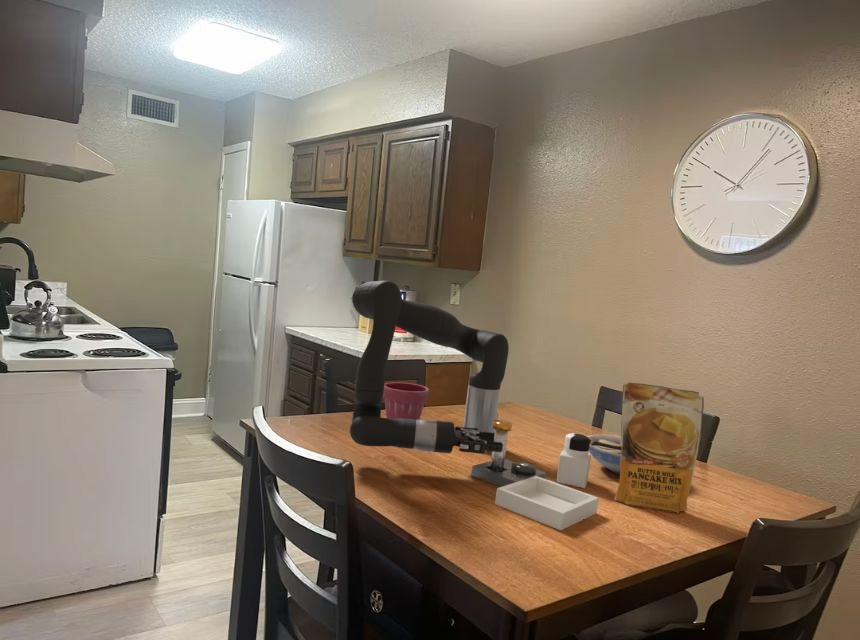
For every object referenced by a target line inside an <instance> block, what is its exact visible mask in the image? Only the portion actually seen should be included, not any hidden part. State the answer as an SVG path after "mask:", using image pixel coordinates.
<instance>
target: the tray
mask: <svg viewBox="0 0 860 640" xmlns="http://www.w3.org/2000/svg"><path fill="white" fill-rule="evenodd" d="M599 499H600V497H598V496H596V495H593V494H591V493H586V492H584V491H581V490H578V489H575V488H573V487H569V486H567V485H565V484H562V483H557V482H556V481H552V480H549V479H546V478H545V479H544V478H541V477H538V476H534V477H531V478H528V479H524V480H521V481H518V482H515V483H512V484H509V485H506V486H503V487H497V488H496V493H495V499H494V500H495V502H494V505H495V506H499V507H501V508H504V509H506V510H509V511H511V512H514V513H515V514H518V515H521V516H523V517H526V518H528V519H531V520H533V521H535V522H537V523H541V524H543V525H545V526H548V527H550V528H553V529H556V530H558V531H563V530H564V529H566V528H568V527H572V526H573V525H575V524H577V523H579V522H582V521H583V519H584V520H585V519H588V518H590V517H592V516H594V515H596V514H597V513H598V508H599V507H598V506H599Z"/></svg>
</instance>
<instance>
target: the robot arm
mask: <svg viewBox="0 0 860 640" xmlns="http://www.w3.org/2000/svg"><path fill="white" fill-rule="evenodd" d="M351 298H352V299H351V300H352V301H351V302H352V305H353V307H354V309H355V311H356V312H357V313H358V314H359V315H360V316H362V317H363V318H365V319H369V320H372V329H371V333H370V334H371V335H370V337H369V340H368V343H367V345H366V347H365V349H364V351H363V354H362V355H361V357H360V359H359V362H358V366H357V369H356V375H355V376H356V377H355V384H354V386H355V387H354V406H353V413H352V420H351V423H350V427H349V434H350V435H349V436H350V437H351V439H352V440H353V442H354V443H355V444H358V445H360V446H365V447H394V448H398V449H399V448H400V449H401V448H402V449H411V450H416V451H422V452H429V453H440V454H451V453H452V452H453V449H454V447H457V448H459V449H458V451H459V452H461V453H462V452H463V453H472V454H480V455H484V454H486V453H487V452H492V451H493V452H502V449H503V444H502V443H501V442H494V435H495V429H494V428H493V421H494V420H499V413H498V408H499V401H500V393H501V385H502V383H503V380H504V378H505V373H506V369H507V364H508V363H507V362H508V358H509V357H508V356H509V350H510V349H509V348H510V347H509V342H508V341H509V340H508V338H507V337H506V336H505V335H504V334H501V333H498V332H494V331H488V330H483V329H478V328H477V329H476V328H474V327H471V326H467V325H465V324H463V323H462V322H460V320H459V319H458V318H457V317H456V316H455V315H453V314H452V313H450V312H448V311H446V310H444V309H442V308H439V307H437V306H436V305H431V304H428V303H423V302H420V301H419V302H417V301H412V300H408V299H407V300H406V299H404V298H402V292H401V290H400V288H399V285H397V284H396V283H395V282H394V281H391V280H373V281H367V282H364V283H362V284H360V285H358V286H357V287H356V288H355V289H354V291H353V292H352V296H351ZM396 327H397V328H399V329H400V330H402V331H404V332H407V333H409V334H412V335H414V336H416V337H418V338H420V339H423V340H425V341H427V342H430V343H432V344H435V345H438V346H441V347H445V348H449V349H450V348H451V349H454V350H456V351H458V352H460V353H462V354H464V355H466V356H467V357H469V358H471V359H472V360H474V361H476V362H479V363H482V366H481V370H480V371H479V372H478V373H477V372H476V373H472V374H471V375H470V376H469V378H468V379H469V380H468V386H467V392H466V393H467V394H466V395H467V396H466V401H465V402H466V404H465V410H464V420H463V426H455V423H454V422H453V421H445V420H435V419H419V420H415V419H405V418H396V419H388V418H386V417H382V416H381V415H382V414H381V413H382V403H383V399H384V398H383V394H384V385H385V383H386V374H387V373H386V372H387V367H388V366H387V365H388V361H389V355H390V352H391V351H390V350H391V347H392V344H393V340H394V335H395V333H396Z"/></svg>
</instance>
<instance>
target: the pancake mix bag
mask: <svg viewBox="0 0 860 640" xmlns="http://www.w3.org/2000/svg"><path fill="white" fill-rule="evenodd" d="M704 402H705V401H704V396H700V392H699V391H694V390H687V389H677V388H671V387H667V386H662V385H661V386H660V385H656V384H655V385H654V384H646V383H639V382H636V383H635V382H627V383H625V384H623V385H622V396H621V411H622V412H621V421H620V423H621V424H620V425H621V427H620V436H621V444H622V450H621V459H620V474H619V481H618V482H619V483H618V486H617V487H618V488H617V491H616V493H615V496H614V499H613V500H614V501H615V502H621V503H622V504H623V505H626V504H627V506H630V505H632V507H635V506H637V507H636V508H641V507H643V508H642V509H646V508H651V509H650V510H653V509H657V510H656V511H660V510H663V511H662V512H665V511H670V512H669V513H671V512H678V513H677V514H680V513H681V512H680V511H687V512H688V502H687V501H688V498H689V493H690V489H691V486H692V481H693V476H694V471H695V466H696V464H697V463H696V461H697V458H698V453H699V447H700V444H701V443H700V442H701V437H702V428H703V427H702V426H703V415H704V408H705V407H704V405H705V403H704ZM679 512H680V513H679Z"/></svg>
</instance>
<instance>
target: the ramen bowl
mask: <svg viewBox="0 0 860 640" xmlns="http://www.w3.org/2000/svg"><path fill="white" fill-rule="evenodd" d="M586 436H587V435H586ZM587 437H588V438H589V439H590V446H589V454H591V457H592V458H593V459H594V460H595V461H597V463H599V464H600V465H602V466H603V467H605V468H606V469H609V471H610V472H612V473H614V474H617V475H620V459H621V450H622V444H621V435H612V434H592V435H588V436H587Z"/></svg>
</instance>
